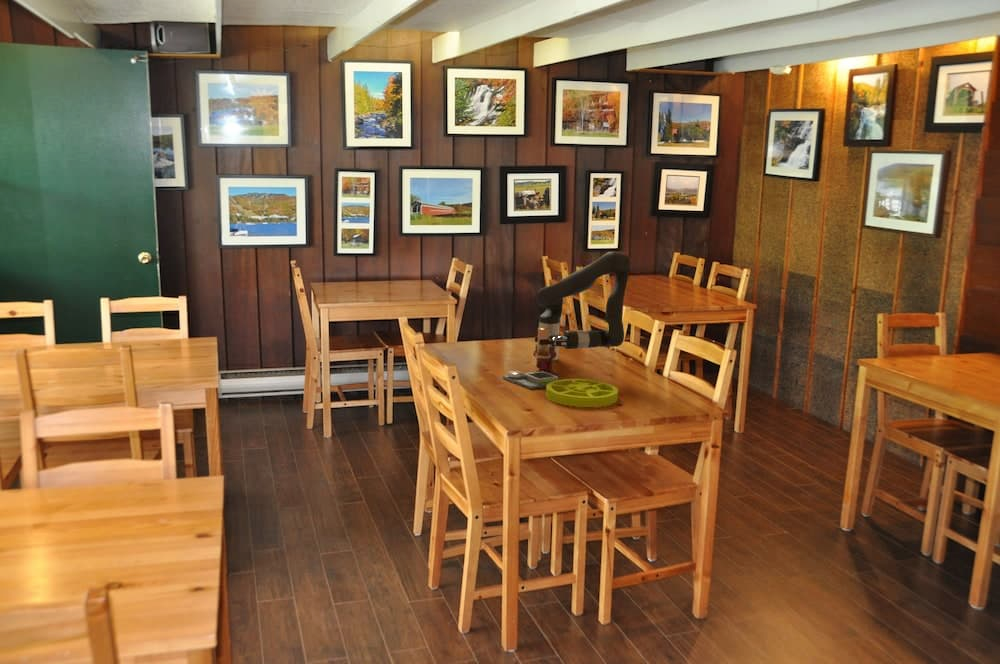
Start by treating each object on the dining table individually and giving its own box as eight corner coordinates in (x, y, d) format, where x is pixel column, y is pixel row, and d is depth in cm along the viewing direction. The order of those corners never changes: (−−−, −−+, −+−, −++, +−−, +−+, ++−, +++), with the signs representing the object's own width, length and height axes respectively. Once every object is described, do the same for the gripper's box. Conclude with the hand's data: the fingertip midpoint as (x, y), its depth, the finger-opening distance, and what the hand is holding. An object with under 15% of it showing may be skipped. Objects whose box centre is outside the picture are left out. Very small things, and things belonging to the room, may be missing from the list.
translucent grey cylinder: (532, 356, 366) (533, 328, 364) (544, 355, 369) (545, 326, 367) (541, 359, 361) (542, 330, 359) (553, 358, 365) (554, 329, 362)
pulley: (534, 391, 355) (534, 379, 354) (595, 386, 366) (596, 375, 365) (566, 411, 330) (567, 398, 329) (631, 405, 341) (631, 392, 340)
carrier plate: (502, 378, 372) (503, 370, 371) (533, 374, 381) (533, 366, 380) (531, 389, 356) (531, 382, 355) (562, 385, 365) (563, 377, 364)
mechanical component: (533, 367, 393) (556, 368, 392) (531, 372, 384) (555, 374, 383) (534, 339, 391) (557, 341, 390) (533, 344, 381) (556, 346, 380)
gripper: (570, 327, 374) (531, 328, 369) (583, 334, 361) (543, 335, 356) (569, 344, 375) (531, 346, 370) (582, 352, 362) (542, 353, 357)
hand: (537, 340), depth 363 cm, fingers closed on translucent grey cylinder, 4 cm apart
